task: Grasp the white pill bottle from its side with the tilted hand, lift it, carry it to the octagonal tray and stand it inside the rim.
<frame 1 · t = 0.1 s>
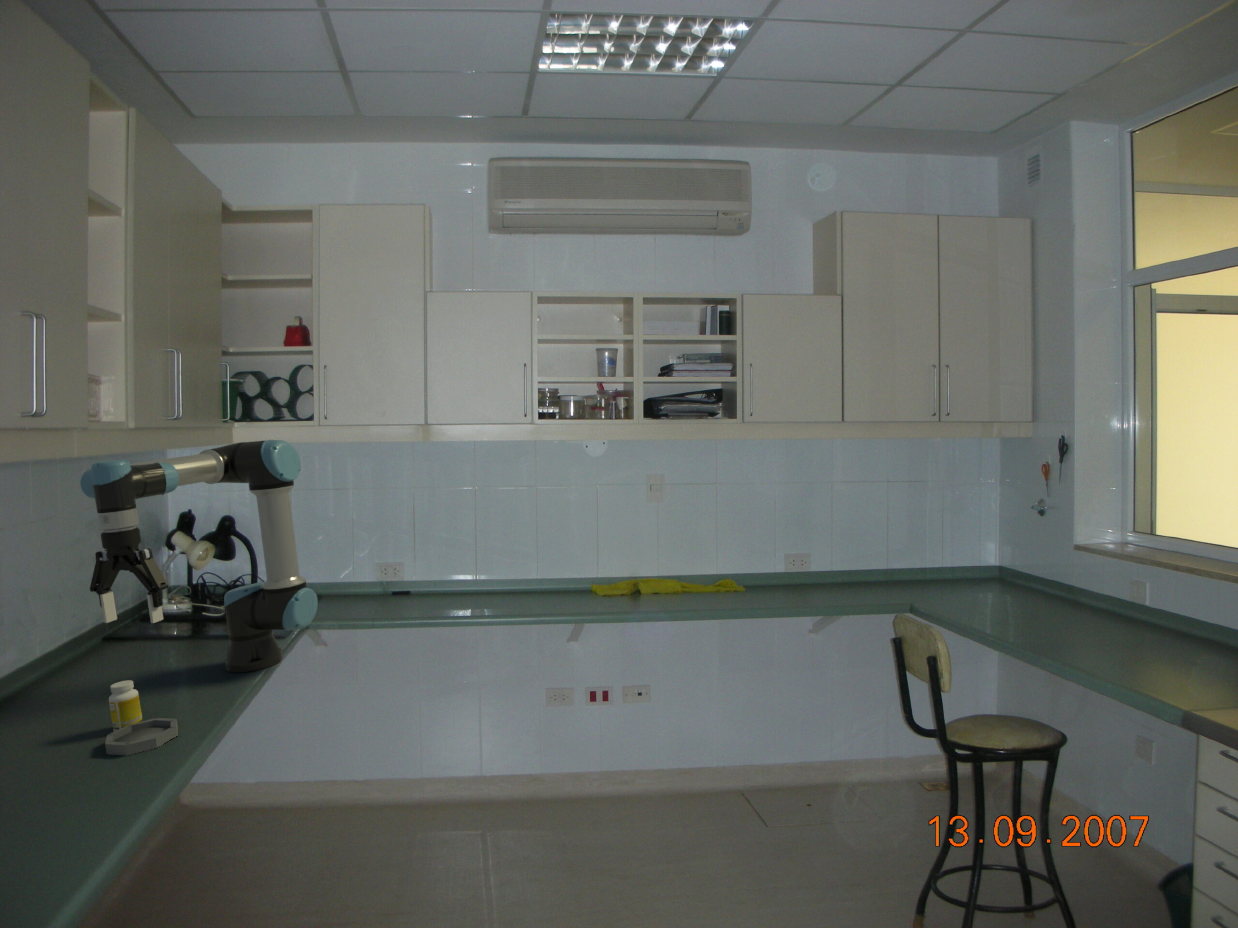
hand: (133, 621, 185), 28 cm above the worktop, tool pointing down, fingers open, 13 cm apart
pill bottle: (128, 728, 196), on the worktop
octagonal tray: (143, 740, 187), on the worktop
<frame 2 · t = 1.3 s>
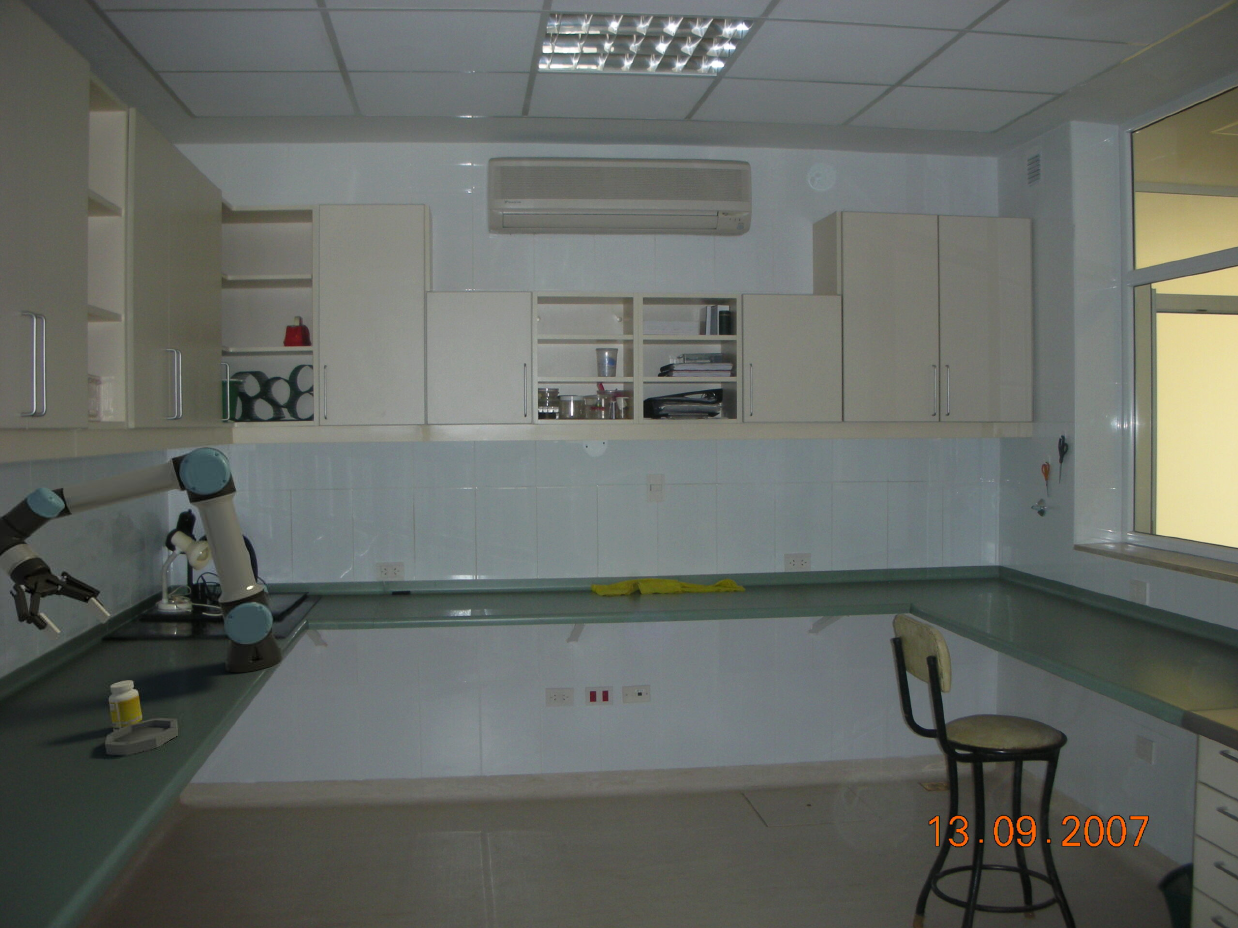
hand: (82, 627, 196), 25 cm above the worktop, tool tilted 45°, fingers open, 13 cm apart
nothing on the worktop moved.
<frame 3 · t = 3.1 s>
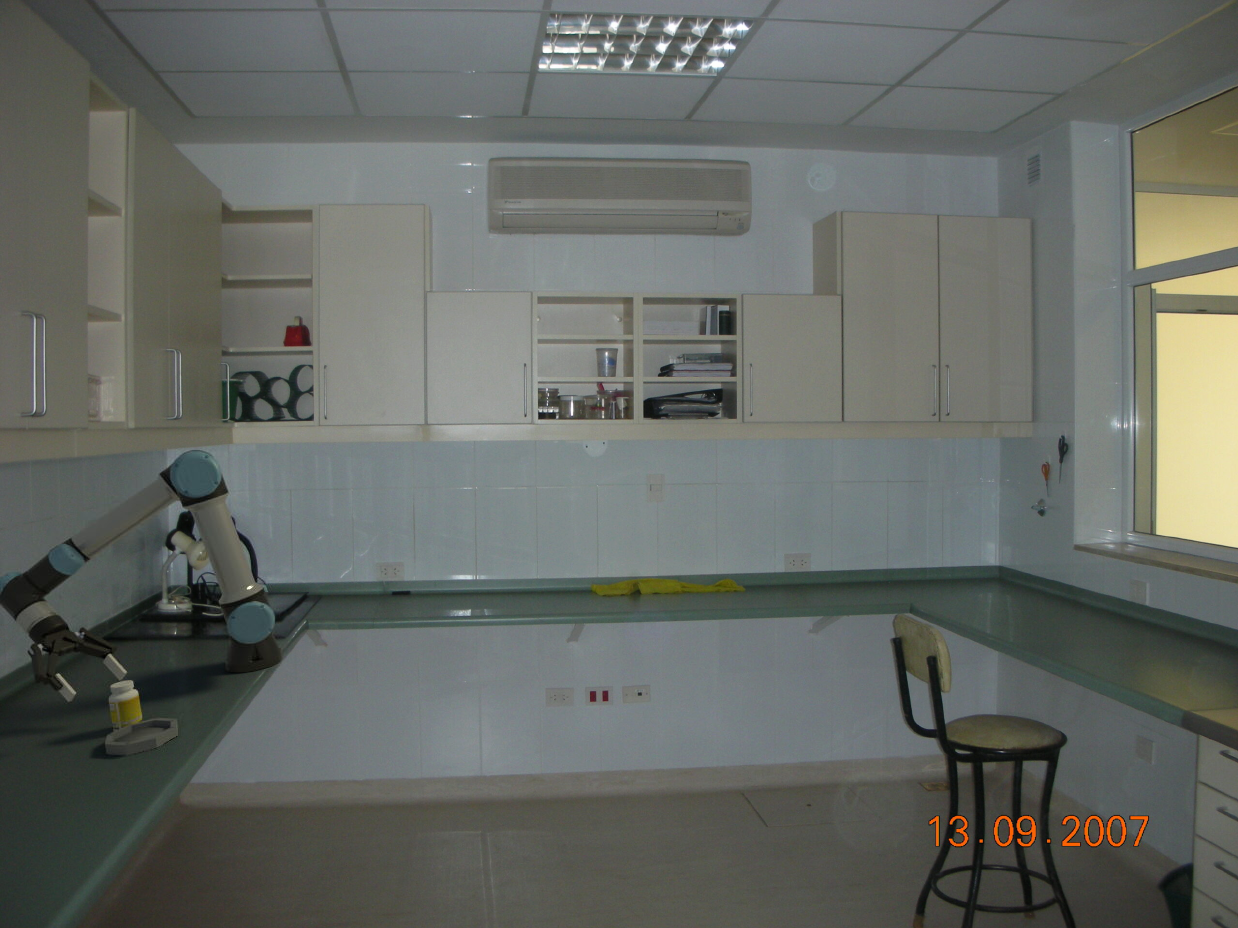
hand: (98, 686, 196), 10 cm above the worktop, tool tilted 45°, fingers open, 13 cm apart
nothing on the worktop moved.
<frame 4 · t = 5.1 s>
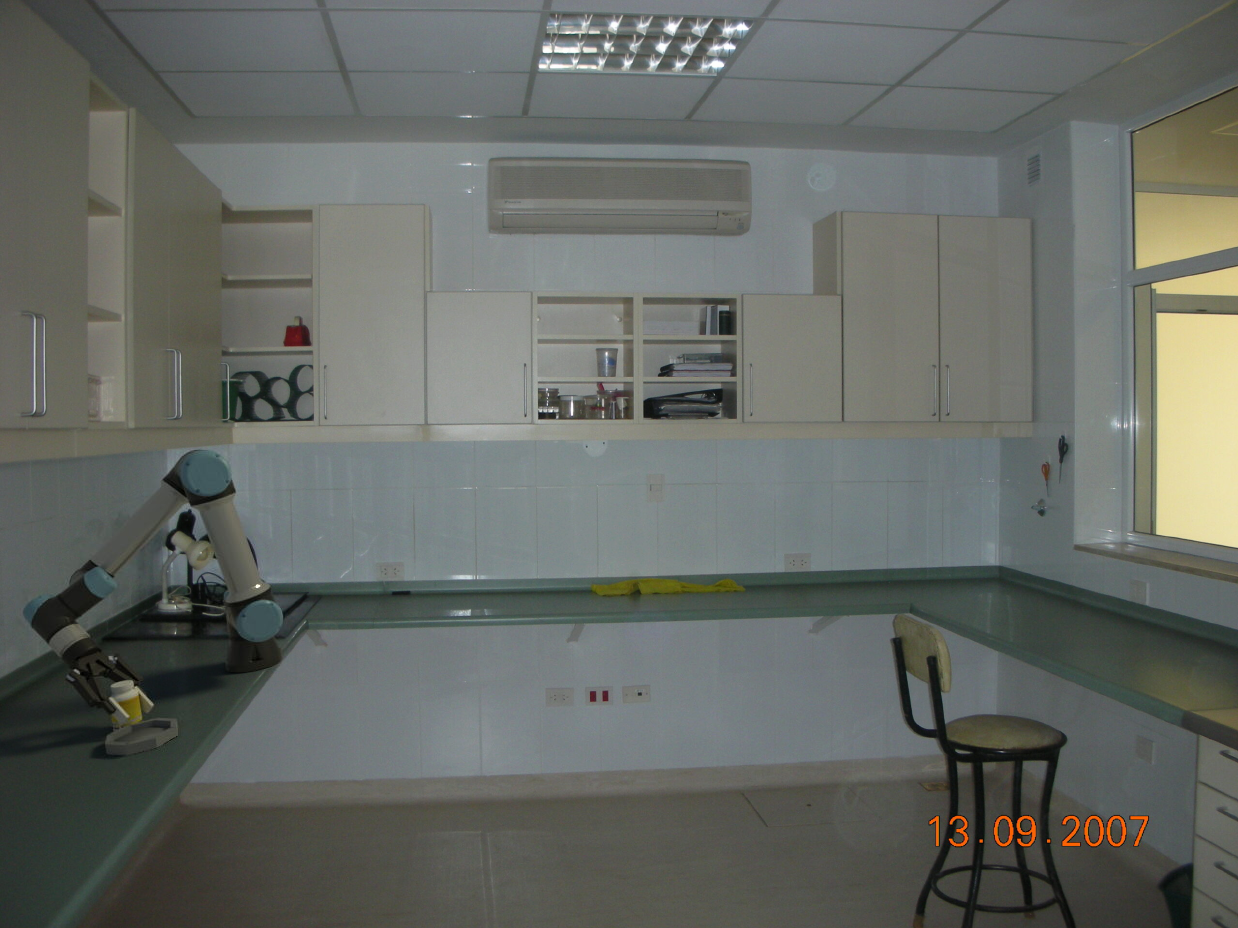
hand: (138, 714, 194), 3 cm above the worktop, tool tilted 45°, fingers closed on pill bottle, 6 cm apart
pill bottle: (128, 728, 196), on the worktop, touching gripper
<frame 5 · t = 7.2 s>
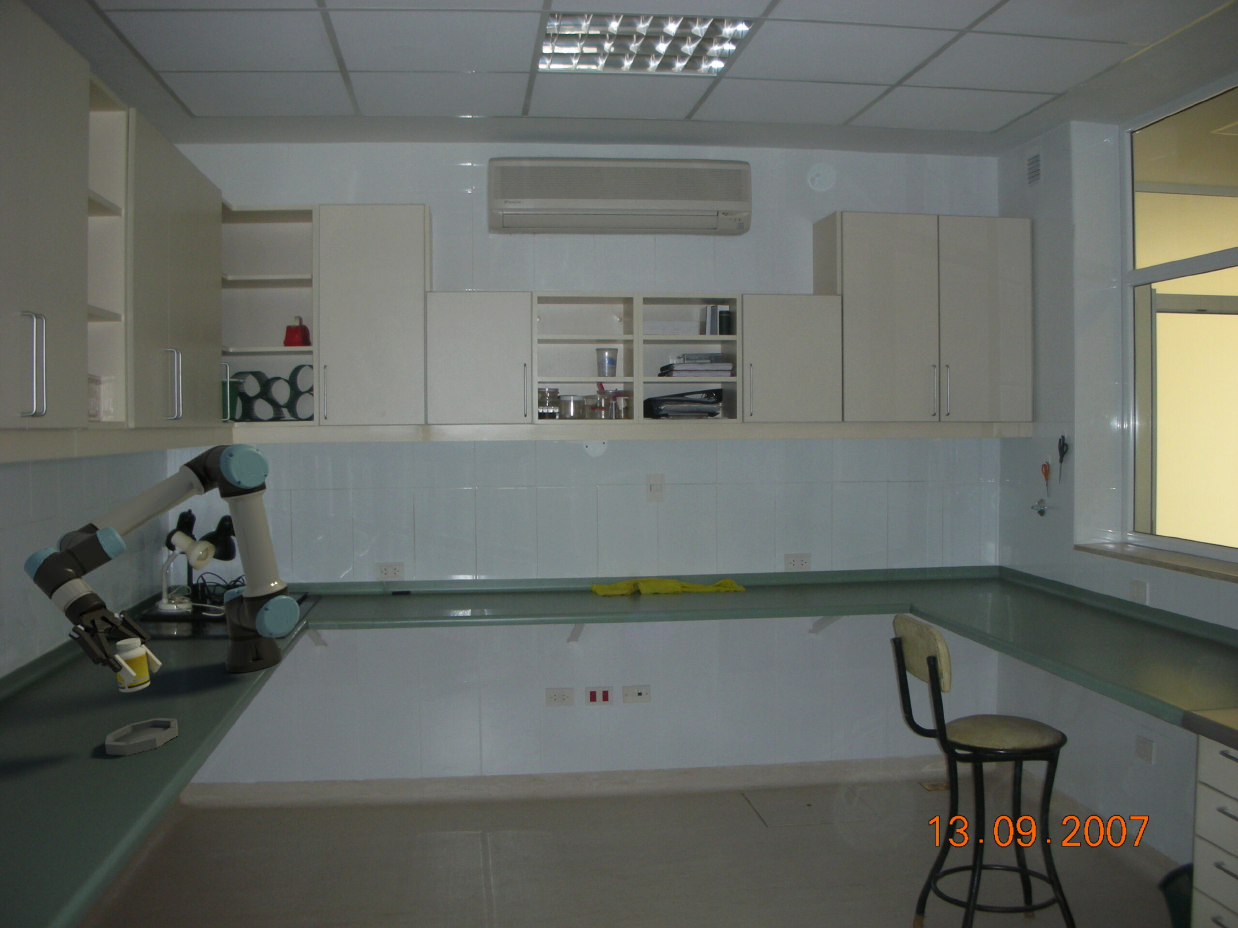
hand: (145, 673, 184), 16 cm above the worktop, tool tilted 45°, fingers closed on pill bottle, 6 cm apart
pill bottle: (135, 688, 186), point 12 cm above the worktop, touching gripper
when the fingers open (5 cm above the worktop, at t = 9.4 s): pill bottle stays where it is, resting on octagonal tray.
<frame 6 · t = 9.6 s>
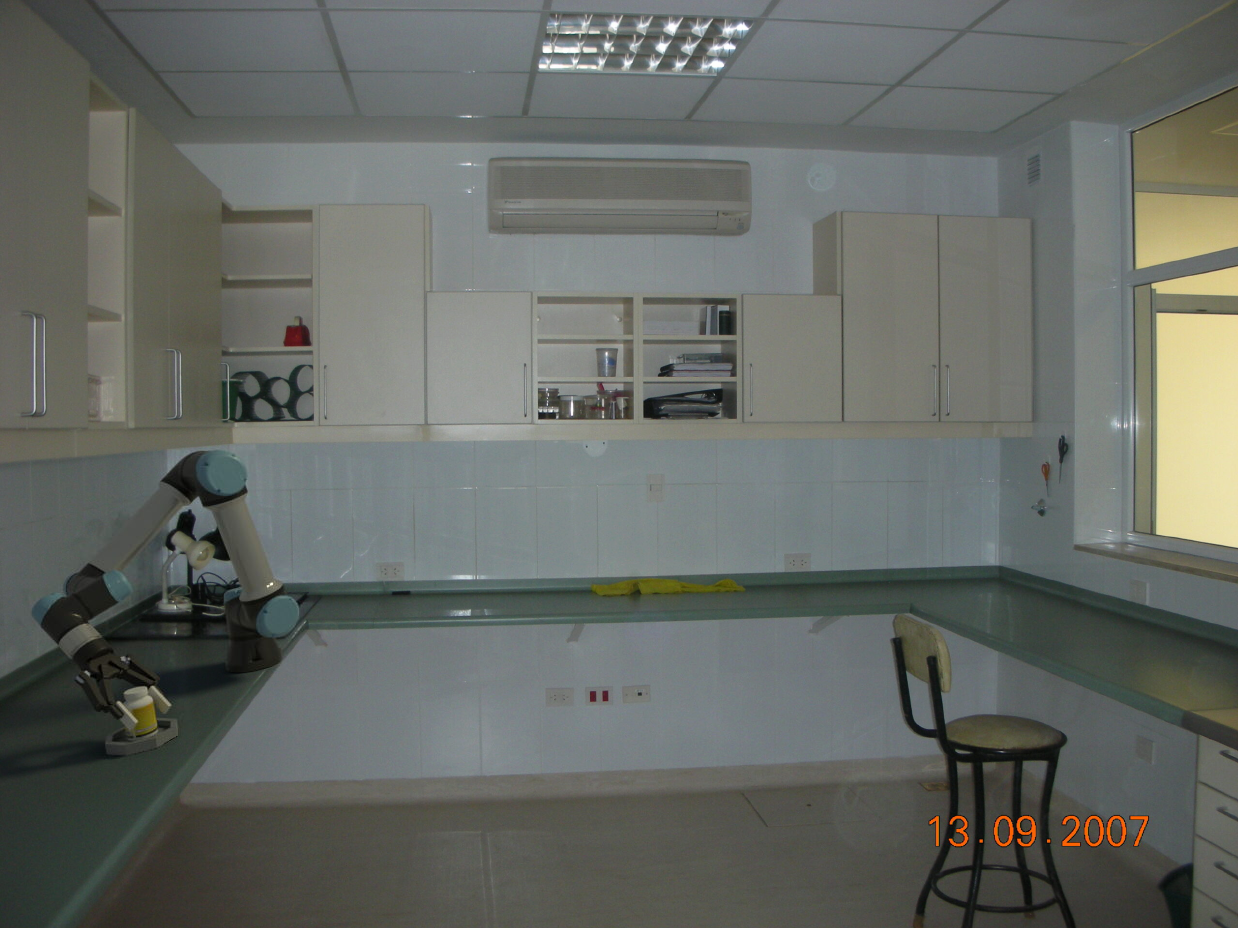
hand: (151, 717, 185), 6 cm above the worktop, tool tilted 45°, fingers open, 8 cm apart
pill bottle: (143, 737, 187), point 1 cm above the worktop, touching octagonal tray
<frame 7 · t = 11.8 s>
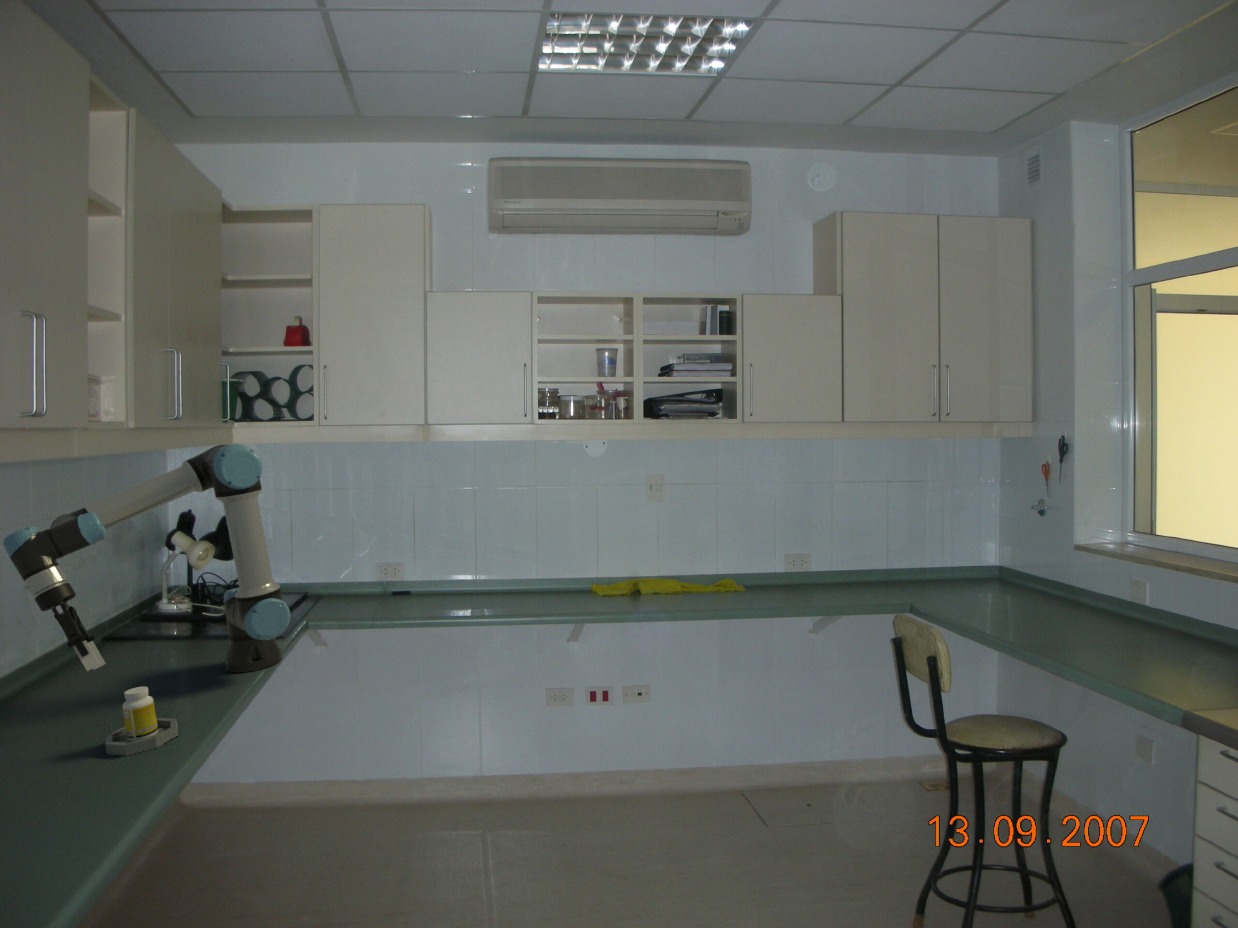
hand: (96, 667, 193), 16 cm above the worktop, tool tilted 25°, fingers open, 13 cm apart
nothing on the worktop moved.
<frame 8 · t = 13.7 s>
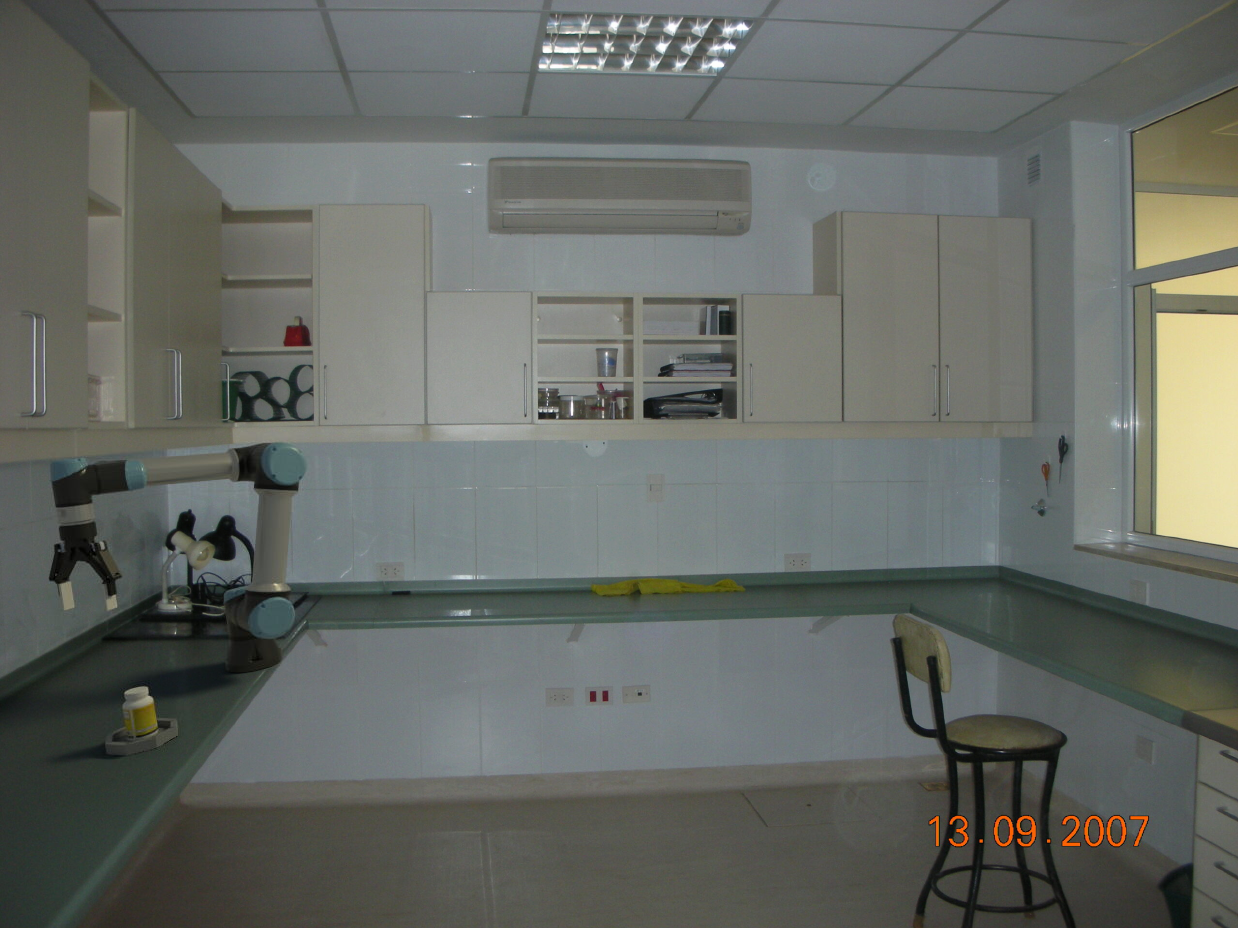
hand: (89, 609, 197), 29 cm above the worktop, tool pointing down, fingers open, 13 cm apart
nothing on the worktop moved.
at the end: pill bottle 0.2 cm from the octagonal tray (horizontally); pill bottle tilted 0°; pill bottle point 0.8 cm above the worktop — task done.
